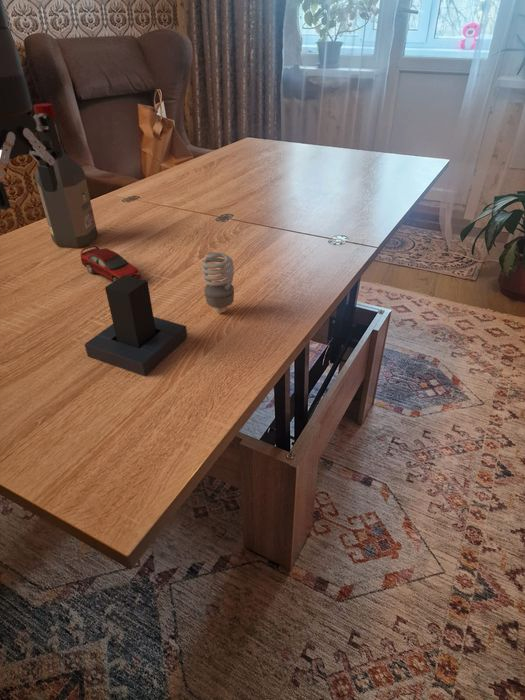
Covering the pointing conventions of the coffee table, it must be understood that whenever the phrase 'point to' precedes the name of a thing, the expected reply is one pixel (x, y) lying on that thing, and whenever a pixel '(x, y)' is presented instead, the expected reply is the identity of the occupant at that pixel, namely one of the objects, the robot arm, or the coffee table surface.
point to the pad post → (131, 310)
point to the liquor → (67, 200)
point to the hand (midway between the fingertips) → (28, 199)
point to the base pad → (135, 358)
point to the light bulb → (218, 291)
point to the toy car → (107, 264)
